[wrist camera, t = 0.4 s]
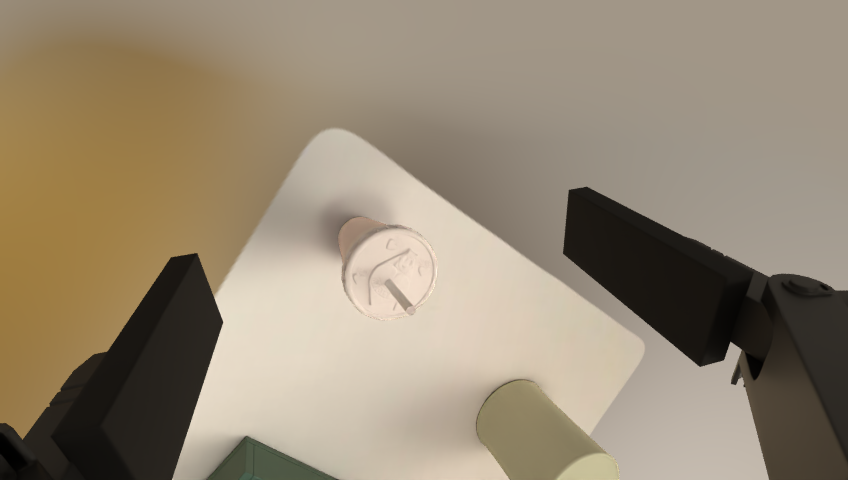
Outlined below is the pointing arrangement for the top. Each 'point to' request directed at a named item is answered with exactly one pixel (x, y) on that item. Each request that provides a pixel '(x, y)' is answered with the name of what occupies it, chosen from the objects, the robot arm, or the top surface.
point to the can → (539, 438)
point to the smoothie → (386, 268)
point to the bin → (263, 465)
